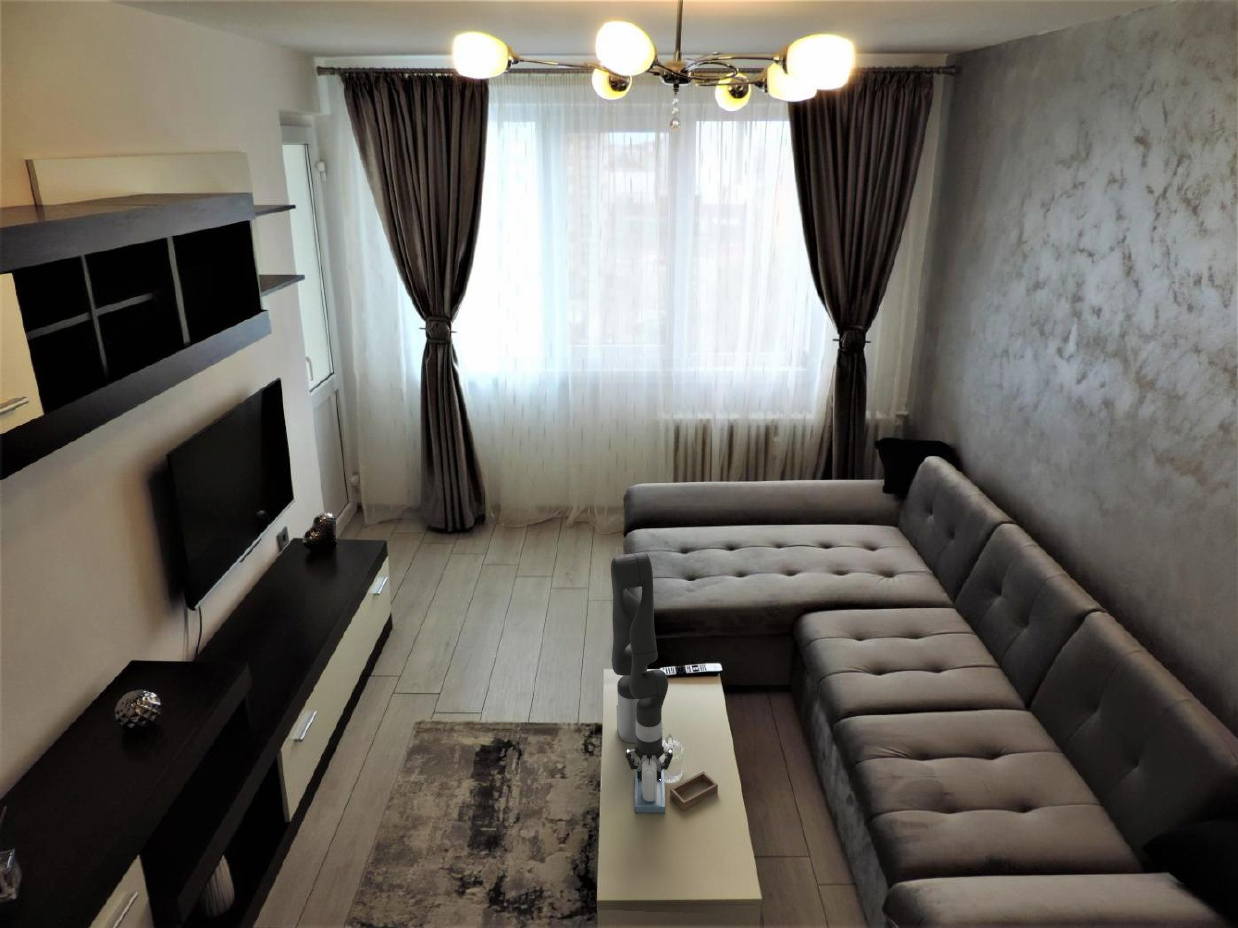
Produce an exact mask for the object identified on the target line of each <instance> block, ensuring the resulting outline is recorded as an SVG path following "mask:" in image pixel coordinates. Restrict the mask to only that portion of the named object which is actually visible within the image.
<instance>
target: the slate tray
mask: <svg viewBox="0 0 1238 928" xmlns="http://www.w3.org/2000/svg"><path fill="white" fill-rule="evenodd" d="M665 791H666V790H665V771H664V770H662V771H661V781H660V780H659V781H657V794H656V799H654V800H653V801H646V800H645V799H643V794H642V781H640V779H638V778H637V770H635V771H634V814H664V815H665V814H666V793H665Z"/></svg>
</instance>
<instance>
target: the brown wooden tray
mask: <svg viewBox="0 0 1238 928" xmlns="http://www.w3.org/2000/svg"><path fill="white" fill-rule="evenodd" d="M702 782H703V783H704V784H705V785H706V786H707V788H706V789H703V790H702V791H700V792H698V793H696V794H694V795H692V796H690V797H688V798H687V799H685V800H684V798H683V797H682V796H681V795H680V794H682V793H684V792H686V791H688V790H690V789H692V788H694V787H696V786H697V785H699V784H701V783H702ZM718 788H719V785H718V783H716V781H715V780H713V779H712V777H710V776H709V774H707V773H706V772H705V770H703V771H701V772H699V773H698V774H696V775H693V776H692V777H690V778H688V779H686V780H684V781H682V782H680V783H678V784H677V785H675V786H673V787H671V788H670V789H669V797H670V798H671V799H672V800H673V802H675V804H676V805H677V806H678V807H680V809H681V810H682V811H683V812H685V811H686V810H689V809H690V808H692V807H694V806H696V805H698V804H700V803H701V802H704V801H705V800H707V799H708V798H711V797H712V796H714V795H716V794H718V791H719V789H718Z"/></svg>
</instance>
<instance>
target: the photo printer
mask: <svg viewBox="0 0 1238 928" xmlns="http://www.w3.org/2000/svg"><path fill="white" fill-rule="evenodd" d="M642 794H643V799H645V800H646V801H653V800H654V799H656V794H657V765H656V763H655V762H654V761H653V759H652V758H650V760H649V759H648V758H647V759H646V760H645V761H644V762H643V764H642Z"/></svg>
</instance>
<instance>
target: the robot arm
mask: <svg viewBox="0 0 1238 928" xmlns="http://www.w3.org/2000/svg"><path fill="white" fill-rule="evenodd" d="M653 573H654V572H653V566H652V562H651V558H650V556H649V555H648V554H647V552H646V551H645V552H644V551H642V552H635V553H628V554H621V555H617V556H615V557H613V558H612V560H611V563H610V578H611V587H612V589H611V590H612V618H611V620H612V635H613V638H612V639H613V641H612V652H611V667H612V670H613V672H614V674H615V675H617V676H621V677H620V678H619V680H618V681H617V684H616V685H617V686H616V689H617V690H616V691H617V693H616V694H617V705H616V729H617V733H618V737H619V739H621V740H622V741H624V742H626V743H628V744H635V747H634V748H629V747H626V748H625V758H626V760H627V762H628V765H629V768H630V770H635V771H637V778H638V779H640V781H642V764H643V762H644V761H645V760H646V759H647V758H648V759H649V760H650V758H652V759H653V761H654V762H655V763H656V765H657V781H659V779H661V771H664V770H665V771H666V770H668V769H669V767H670V765H671V762H672V760H673V756H674V752H673V748H672V747H670V748H668V749H667V748H665V747H664V744H663V729H664V728H663V721H662V716H663V715H662V711H663V710H662V709H663V705H664V702H665V699H666V696H667V693H668V690H669V679H668V676H667V674H666V672H665V671H663V670H662V669H659V668H655V669H652V670H648V666H649V665H650V664H652V663H654V662H656V661H657V659H658V658H659V657H658V655H659V654H658V648H657V646H658V645H657V641H656V640H657V639H656V634H655V633H656V631H655V613H654V609H655V608H654V607H655V603H654V574H653ZM639 587H641V600H639V599H638V598H637V597H635V595H634V594H632V593H630V592H629V591H628V589H633V588H639ZM663 755H664V760H663V762H662V761H661V757H662V756H663ZM634 756H637V757H638V760H637V762H636V760H635V758H634Z"/></svg>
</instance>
